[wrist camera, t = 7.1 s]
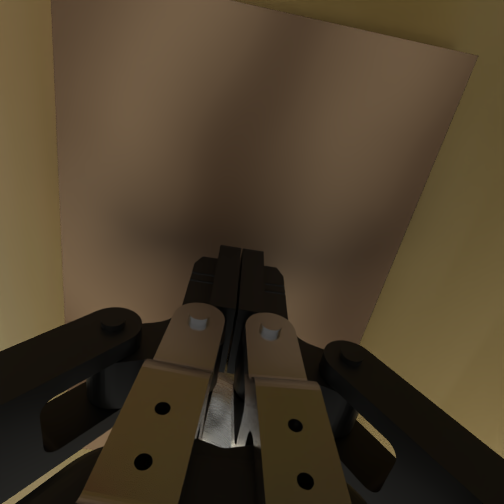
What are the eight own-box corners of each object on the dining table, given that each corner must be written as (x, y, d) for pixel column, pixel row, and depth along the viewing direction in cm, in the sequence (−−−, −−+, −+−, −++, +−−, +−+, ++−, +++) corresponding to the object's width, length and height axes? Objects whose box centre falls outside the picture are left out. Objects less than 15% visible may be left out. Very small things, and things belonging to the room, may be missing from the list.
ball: (240, 518, 16) (248, 415, 20) (264, 440, 14) (268, 343, 18) (118, 498, 16) (153, 398, 20) (121, 415, 13) (160, 323, 18)
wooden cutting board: (455, 55, 12) (478, 55, 11) (301, 450, 22) (304, 476, 20) (72, -31, 12) (49, -41, 10) (82, 420, 21) (70, 446, 19)
